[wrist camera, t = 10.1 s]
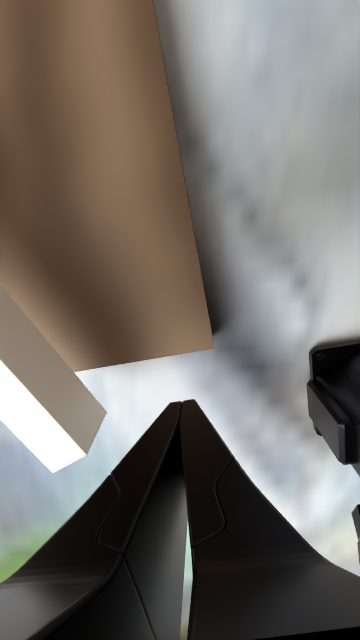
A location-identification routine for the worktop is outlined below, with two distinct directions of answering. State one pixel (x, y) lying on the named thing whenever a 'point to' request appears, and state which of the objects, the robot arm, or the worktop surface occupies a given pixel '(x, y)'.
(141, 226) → the post board
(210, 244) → the worktop surface
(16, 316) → the orange and white spoon
